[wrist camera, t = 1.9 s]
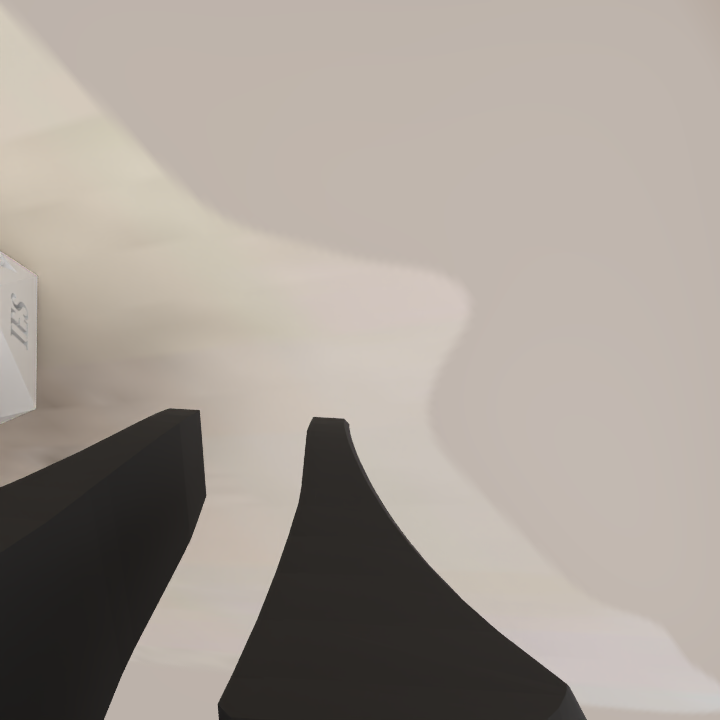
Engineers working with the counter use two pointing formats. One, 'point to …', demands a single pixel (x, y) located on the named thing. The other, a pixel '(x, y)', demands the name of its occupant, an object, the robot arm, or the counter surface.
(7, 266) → the die
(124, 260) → the counter surface
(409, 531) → the counter surface
